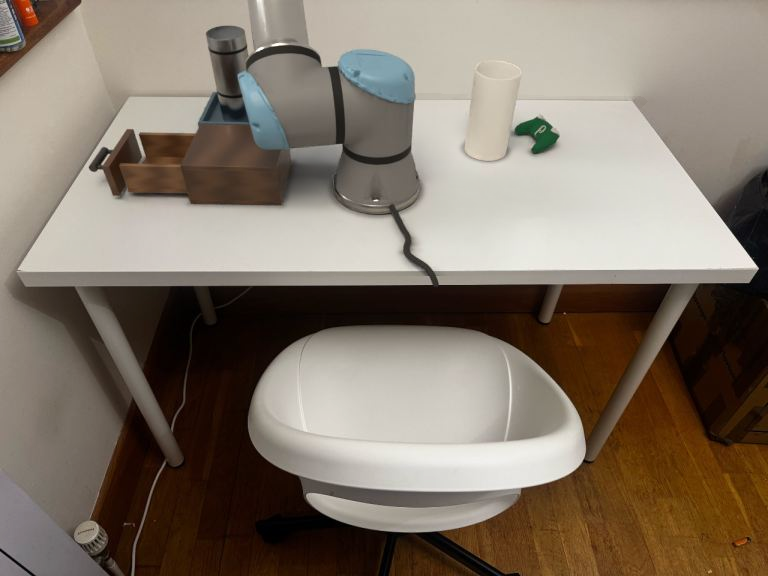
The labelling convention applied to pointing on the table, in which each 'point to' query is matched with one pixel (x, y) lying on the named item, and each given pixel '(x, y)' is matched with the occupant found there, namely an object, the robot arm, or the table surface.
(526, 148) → the table surface
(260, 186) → the cabinet
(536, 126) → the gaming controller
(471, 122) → the cup
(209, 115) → the tray
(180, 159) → the drawer
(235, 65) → the steel travel flask
